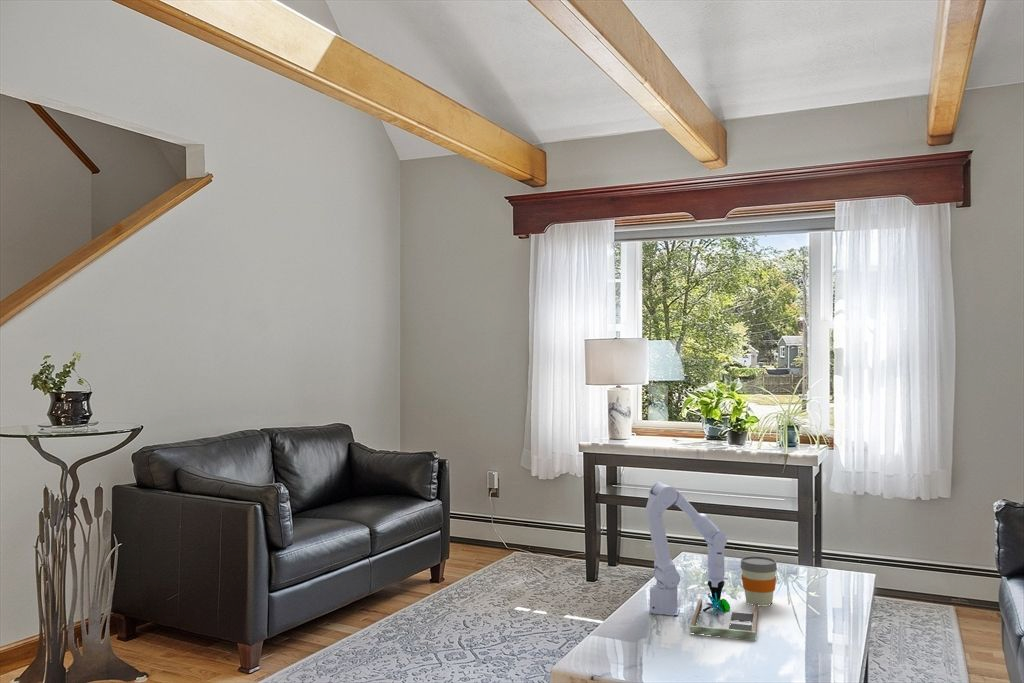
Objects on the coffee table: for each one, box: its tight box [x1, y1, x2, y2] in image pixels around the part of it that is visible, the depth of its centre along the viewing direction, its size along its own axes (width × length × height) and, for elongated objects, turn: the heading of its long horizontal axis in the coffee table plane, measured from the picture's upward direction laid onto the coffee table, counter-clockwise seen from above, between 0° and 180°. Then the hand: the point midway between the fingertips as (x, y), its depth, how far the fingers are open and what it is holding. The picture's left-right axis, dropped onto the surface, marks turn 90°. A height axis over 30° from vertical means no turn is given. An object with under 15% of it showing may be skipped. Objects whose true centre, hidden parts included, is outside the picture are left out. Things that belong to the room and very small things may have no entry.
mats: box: [728, 612, 754, 631], centre depth 274 cm, size 7×20×1 cm, turn 162°
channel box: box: [689, 598, 759, 641], centre depth 275 cm, size 20×30×2 cm, turn 162°
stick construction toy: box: [702, 592, 731, 616], centre depth 287 cm, size 12×7×8 cm
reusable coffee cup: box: [740, 555, 778, 607], centre depth 296 cm, size 12×13×15 cm
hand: (716, 602), depth 291 cm, fingers closed
